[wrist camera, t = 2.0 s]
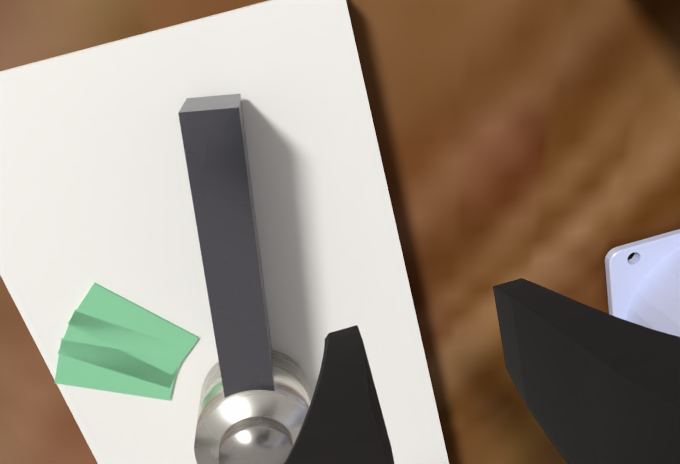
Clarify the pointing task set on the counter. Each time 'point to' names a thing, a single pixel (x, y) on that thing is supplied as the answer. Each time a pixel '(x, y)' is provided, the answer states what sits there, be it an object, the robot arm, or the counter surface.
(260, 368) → the dial pointer
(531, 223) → the counter surface
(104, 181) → the dial board
